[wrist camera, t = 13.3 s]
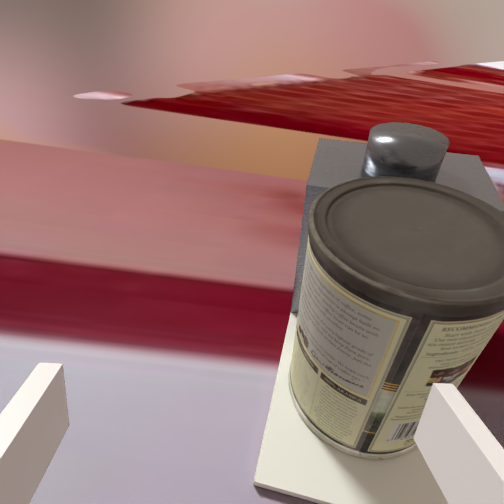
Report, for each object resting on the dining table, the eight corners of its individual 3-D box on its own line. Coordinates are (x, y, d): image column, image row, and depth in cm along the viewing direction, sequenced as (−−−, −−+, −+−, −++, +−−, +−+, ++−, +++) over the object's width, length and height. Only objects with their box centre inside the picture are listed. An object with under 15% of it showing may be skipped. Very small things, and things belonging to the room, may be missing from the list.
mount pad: (253, 485, 22) (253, 481, 22) (290, 316, 32) (290, 312, 32) (468, 546, 20) (472, 543, 20) (435, 345, 30) (437, 341, 30)
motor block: (289, 320, 32) (310, 152, 22) (305, 247, 40) (325, 100, 30) (436, 349, 30) (530, 178, 20) (422, 267, 38) (485, 115, 28)
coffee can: (338, 309, 32) (375, 158, 23) (457, 385, 27) (565, 226, 18) (256, 384, 26) (264, 223, 18) (387, 501, 21) (496, 353, 12)
